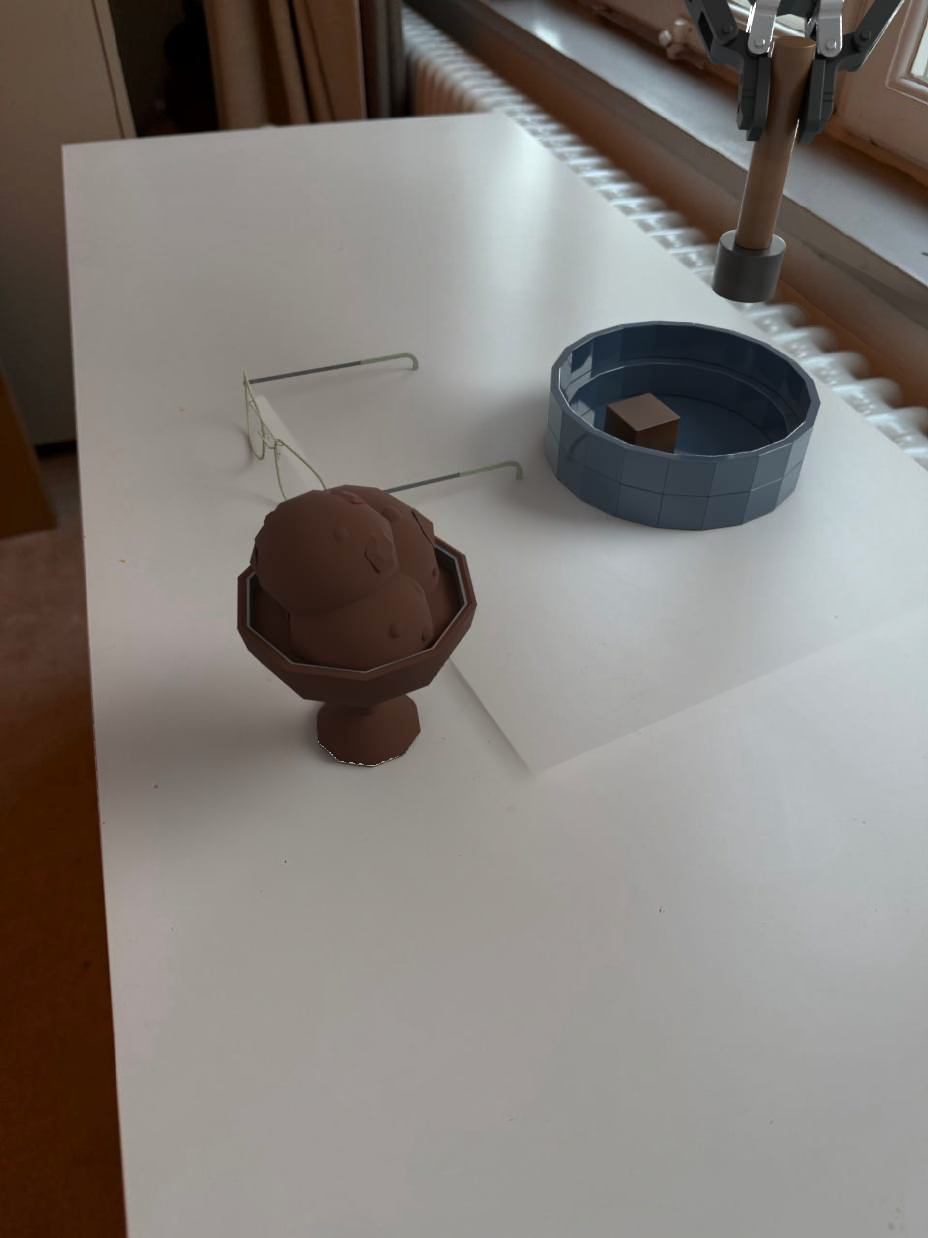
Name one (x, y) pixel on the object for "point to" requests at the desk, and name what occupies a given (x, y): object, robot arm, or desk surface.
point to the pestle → (765, 183)
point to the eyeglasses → (391, 490)
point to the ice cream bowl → (354, 612)
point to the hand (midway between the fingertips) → (782, 134)
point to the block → (643, 423)
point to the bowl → (681, 423)
